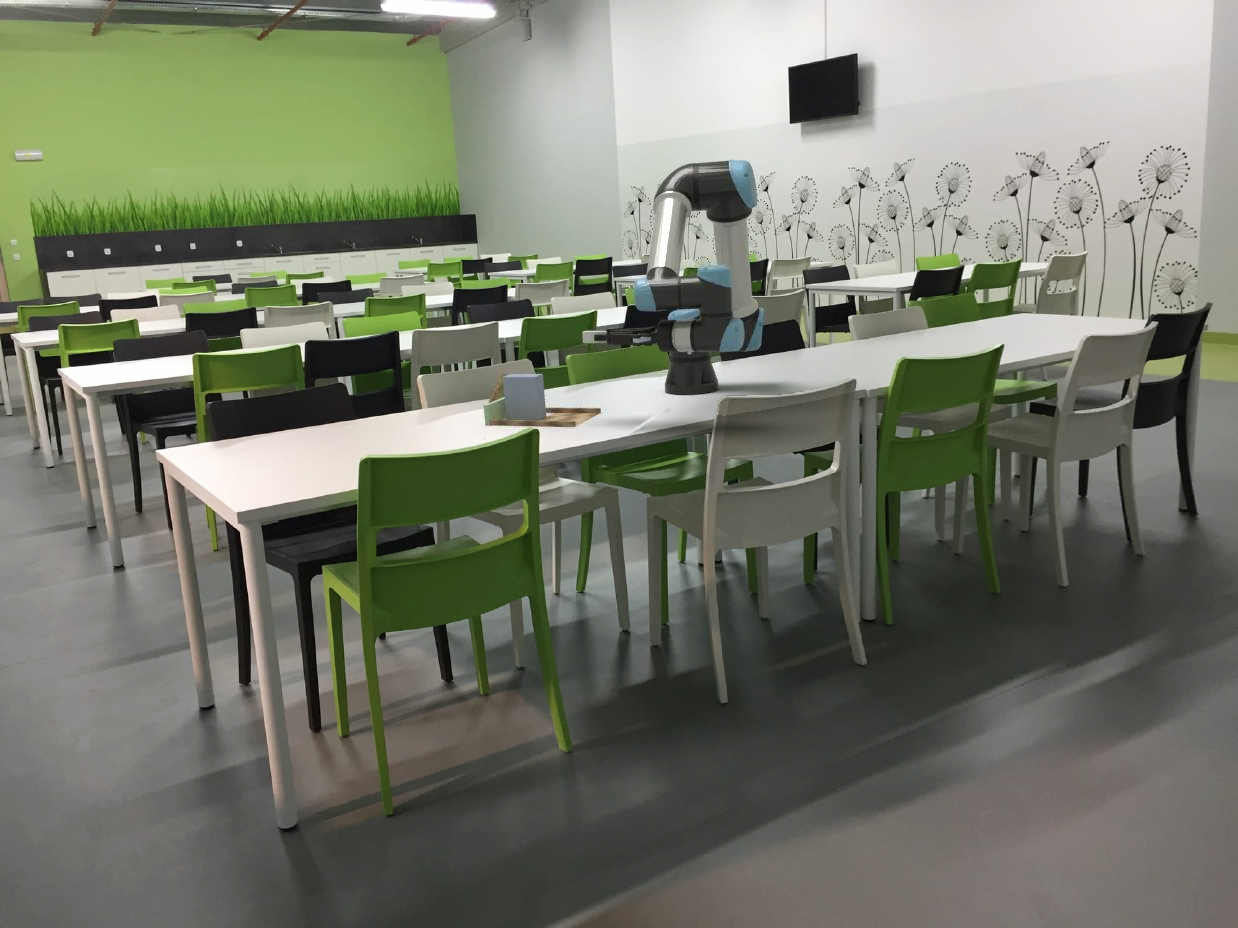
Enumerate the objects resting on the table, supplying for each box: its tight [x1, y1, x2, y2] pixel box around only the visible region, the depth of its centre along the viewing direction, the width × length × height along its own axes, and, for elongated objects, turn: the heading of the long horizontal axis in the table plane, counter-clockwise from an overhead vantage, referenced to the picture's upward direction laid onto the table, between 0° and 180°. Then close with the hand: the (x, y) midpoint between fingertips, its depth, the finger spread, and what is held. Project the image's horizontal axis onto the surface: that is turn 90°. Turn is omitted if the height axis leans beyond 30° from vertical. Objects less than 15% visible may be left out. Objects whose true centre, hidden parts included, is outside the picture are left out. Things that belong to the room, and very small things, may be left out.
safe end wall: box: [483, 397, 506, 426], centre depth 254 cm, size 1×17×6 cm, turn 158°
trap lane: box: [489, 407, 602, 428], centre depth 250 cm, size 23×17×2 cm
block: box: [503, 373, 547, 421], centre depth 250 cm, size 9×4×11 cm, turn 69°
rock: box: [488, 373, 508, 403], centre depth 268 cm, size 11×9×10 cm
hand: (583, 337), depth 240 cm, fingers closed
